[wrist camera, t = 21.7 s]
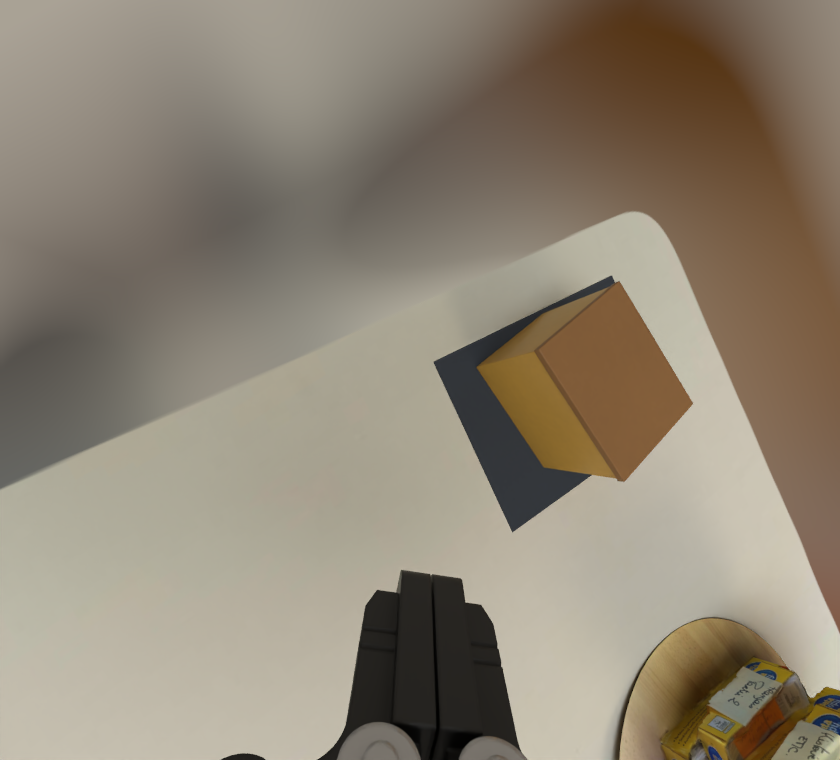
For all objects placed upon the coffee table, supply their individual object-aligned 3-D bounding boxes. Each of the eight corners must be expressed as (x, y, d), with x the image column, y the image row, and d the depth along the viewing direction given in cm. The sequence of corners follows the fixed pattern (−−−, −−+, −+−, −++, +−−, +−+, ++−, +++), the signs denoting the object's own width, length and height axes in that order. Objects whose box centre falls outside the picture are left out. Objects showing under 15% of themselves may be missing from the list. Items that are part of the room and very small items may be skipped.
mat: (432, 362, 35) (433, 361, 35) (610, 275, 43) (611, 275, 43) (511, 531, 36) (512, 532, 36) (671, 416, 44) (672, 416, 44)
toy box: (543, 469, 37) (624, 482, 29) (474, 366, 36) (538, 349, 28) (604, 408, 41) (693, 403, 32) (543, 311, 39) (619, 280, 31)
